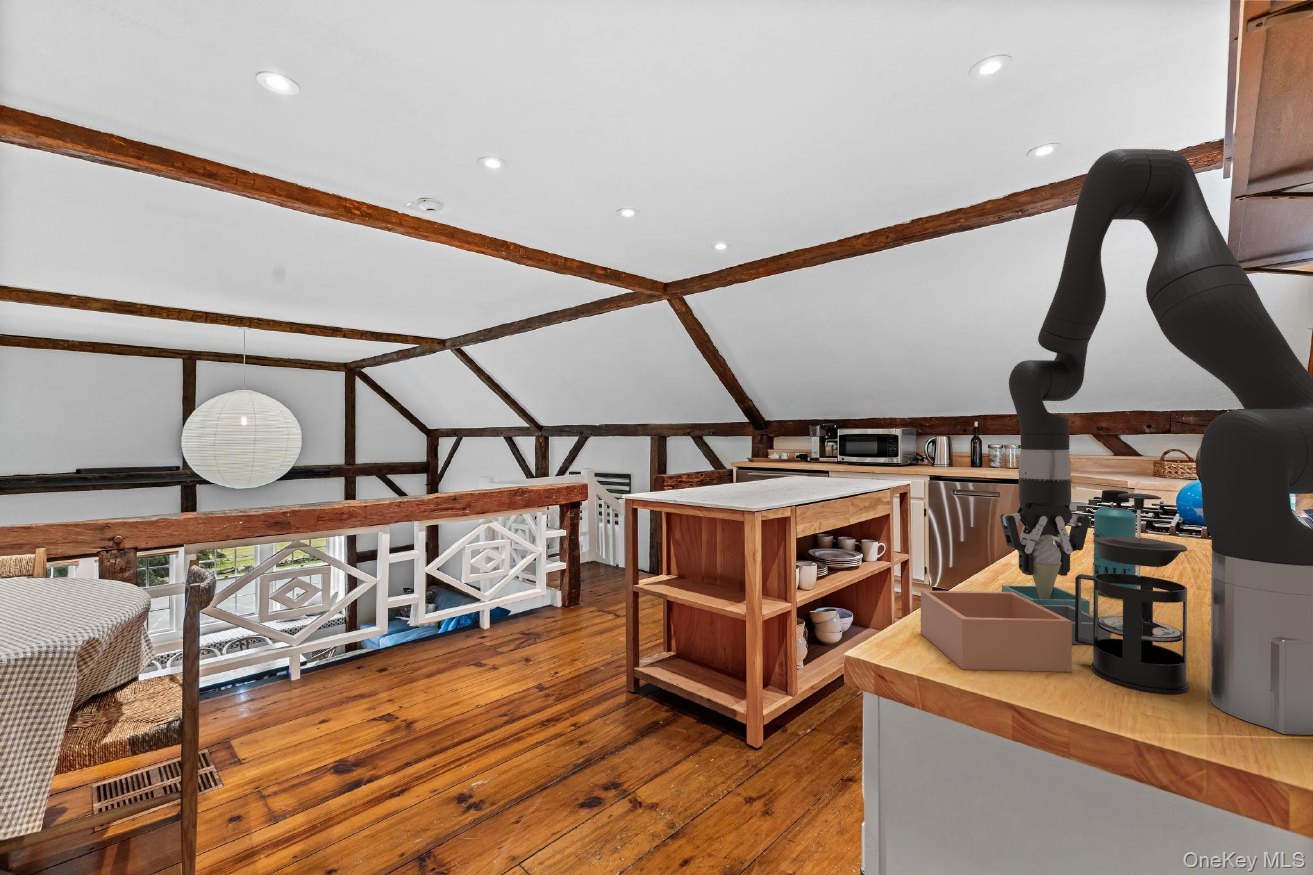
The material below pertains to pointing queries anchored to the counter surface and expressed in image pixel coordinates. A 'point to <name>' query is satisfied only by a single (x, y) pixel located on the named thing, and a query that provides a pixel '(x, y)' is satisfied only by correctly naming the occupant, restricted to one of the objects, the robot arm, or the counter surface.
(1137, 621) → the french press
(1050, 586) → the ice cream cone
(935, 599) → the bin
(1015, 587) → the crate
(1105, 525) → the beverage bottle
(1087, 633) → the frame
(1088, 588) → the counter surface
